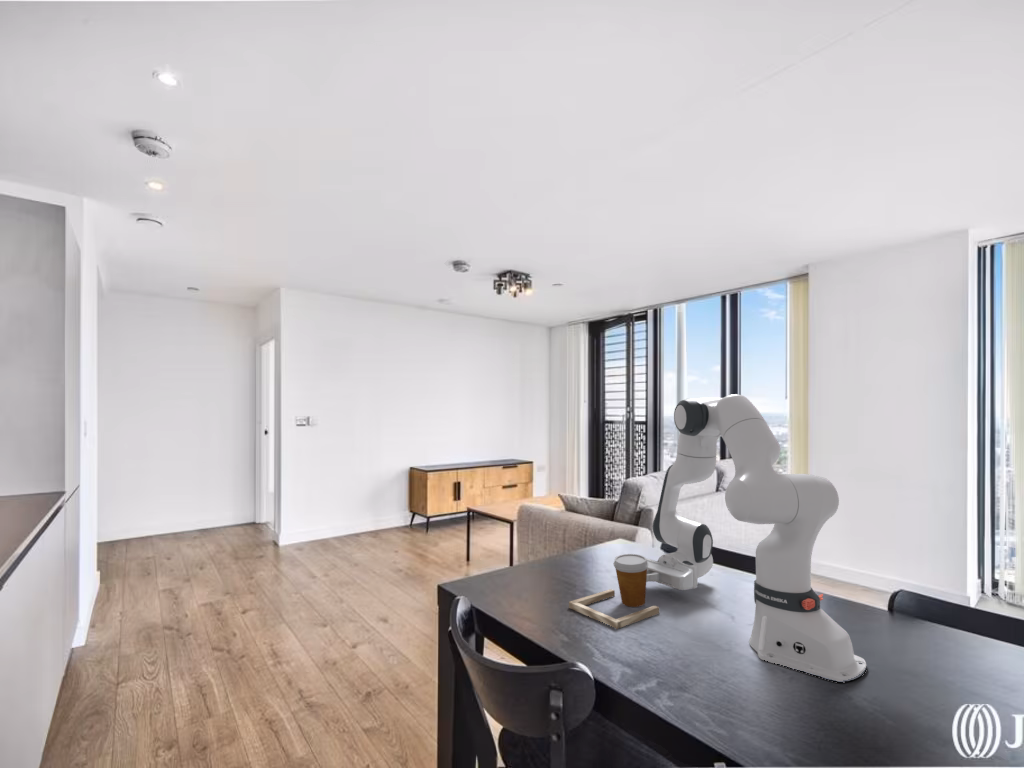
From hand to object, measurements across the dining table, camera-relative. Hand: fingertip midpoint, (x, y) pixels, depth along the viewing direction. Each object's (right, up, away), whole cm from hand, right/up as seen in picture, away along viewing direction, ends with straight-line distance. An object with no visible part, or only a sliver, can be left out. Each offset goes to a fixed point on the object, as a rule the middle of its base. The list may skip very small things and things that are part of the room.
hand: (641, 577), depth 147 cm
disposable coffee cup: (-3, -6, -2) cm, 7 cm away
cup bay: (-9, -6, -7) cm, 13 cm away
